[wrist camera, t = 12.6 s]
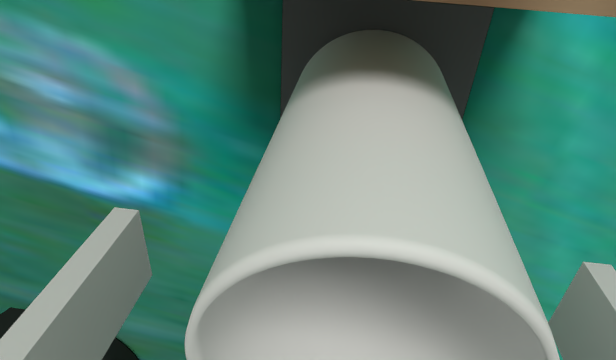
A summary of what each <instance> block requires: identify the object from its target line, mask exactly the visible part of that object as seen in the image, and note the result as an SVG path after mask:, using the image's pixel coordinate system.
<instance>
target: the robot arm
mask: <svg viewBox="0 0 616 360" xmlns="http://www.w3.org/2000/svg"><path fill="white" fill-rule="evenodd" d="M151 276H152V272H151V267H150V262H149V257H148V252H147V247H146V243H145V238H144V233H143V228H142V223H141V219H140V214H139V210H132V209H123V208H114V209H113V210H112V211H111V212H110V213H109V215H108V216H107V217H106V218H105V219H104V220H103V221H102V223H101V224H100V225H99V226H98V227H97V228H96V230H95V231H94V232H93V233H92V234H91V235H90V236H89V238H88V239H87V240H86V241H85V242H84V243H83V245H82V246H81V247H80V248H79V249H78V250H77V251H76V253H75V254H74V255H73V256H72V257H71V258H70V259H69V261H68V262H67V263H66V264H65V265H64V266H63V268H62V269H61V270H60V271H59V272H58V273H57V274H56V276H55V277H54V278H53V279H52V280H51V281H50V283H49V284H48V285H47V286H46V287H45V288H44V289H43V291H42V292H41V293H40V294H39V295H38V296H37V297H36V299H35V300H34V301H33V302H32V303H31V304H30V306H29V307H28V308H27V309H26V310H25V309H17V308H9V309H8V310H6V311H5V312H3V313H2V314H0V360H138V359H137V358H136V356H135V355H134V354H133V353H132V352H131V351H130V350H129V349H128V348H127V347H126V346H125V345H124V344H123V343H121V342H120V341H119V340H117V339H116V338H115V337H116V335H117V333H118V332H119V330H120V328H121V327H122V325H123V323H124V321H125V320H126V318H127V316H128V315H129V313H130V311H131V310H132V308H133V306H134V305H135V303H136V301H137V300H138V298H139V296H140V295H141V293H142V291H143V290H144V288H145V286H146V284H147V283H148V281H149V279H150V278H151ZM548 324H549V327H550V329H551V331H552V335H553V338H554V340H555V342H556V345H557V347H558V349H559V351H560V353H561V355H562V357H563V360H616V271H615V270H614V268H613V267H612V265H607V264H599V263H590V262H583V263H582V265H581V267H580V268H579V270H578V272H577V274H576V275H575V277H574V279H573V281H572V282H571V284H570V286H569V288H568V289H567V291H566V293H565V295H564V296H563V298H562V300H561V302H560V303H559V305H558V307H557V308H556V310H555V312H554V314H553V315H552V317H551V319H550V321H549V322H548Z"/></svg>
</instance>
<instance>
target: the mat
mask: <svg viewBox="0 0 616 360" xmlns="http://www.w3.org/2000/svg"><path fill="white" fill-rule="evenodd" d="M493 11H494V7H488V6H476V5H464V4H452V3H440V2H428V1H416V0H283V14H282V65H281V116H280V119H281V117H282V114H283V112H284V110H285V108H286V106H287V104H288V102H289V99H290V97H291V95H292V93H293V91H294V89H295V86H296V84H297V82H298V80H299V78H300V76H301V74H302V71H303V70H304V68H305V66H306V65H307V63H308V62H309V60H310V59H311V58H312V57H313V56H314V55H315V53H317V52H318V51H319V50H320V49H321V48H322V47H324V46H325V45H326V44H328V43H329V42H331V41H332V40H334V39H336V38H338V37H340V36H343V35H345V34H348V33H352V32H356V31H362V30H384V31H390V32H394V33H398V34H400V35H403V36H405V37H407V38H409V39H411V40H413V41H415V42H416V43H418V44H419V45H420V46H422V47H423V48H424V49H425V50H426V51H427V52H428V53H429V54H430V55H431V56H432V57H433V59H434V60H435V61H436V63H437V65H438V66H439V68H440V70H441V72H442V74H443V77H444V79H445V82H446V84H447V86H448V89H449V91H450V93H451V96H452V98H453V100H454V103H455V105H456V107H457V110H458V112H459V114H460V117H461V119H462V118H463V115H464V111H465V108H466V104H467V101H468V98H469V94H470V91H471V87H472V84H473V80H474V77H475V73H476V70H477V66H478V63H479V59H480V56H481V52H482V49H483V45H484V42H485V39H486V35H487V32H488V28H489V25H490V21H491V18H492V14H493Z"/></svg>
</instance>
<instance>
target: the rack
mask: <svg viewBox="0 0 616 360" xmlns="http://www.w3.org/2000/svg"><path fill="white" fill-rule="evenodd" d="M416 1H428V2H440V3H452V4H464V5H476V6H488V7H500V8H512V9H524V10H536V11H548V12H561V13H573V14H585V15H597V16H609V17H616V0H416Z"/></svg>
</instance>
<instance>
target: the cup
mask: <svg viewBox="0 0 616 360" xmlns="http://www.w3.org/2000/svg"><path fill="white" fill-rule="evenodd" d="M185 355H186V359H187V360H560V359H559V356H558V352H557V348H556V345H555V341H554V338H553V335H552V331H551V329H550V327H549V324H548V322H547V320H546V317H545V315H544V312H543V310H542V308H541V305H540V303H539V301H538V298H537V296H536V293H535V291H534V289H533V286H532V284H531V282H530V279H529V277H528V274H527V272H526V270H525V267H524V265H523V263H522V260H521V258H520V255H519V253H518V251H517V248H516V246H515V244H514V241H513V239H512V237H511V234H510V232H509V230H508V227H507V225H506V223H505V220H504V218H503V215H502V213H501V211H500V208H499V206H498V204H497V201H496V199H495V197H494V194H493V192H492V190H491V187H490V185H489V183H488V180H487V178H486V176H485V173H484V171H483V168H482V166H481V164H480V161H479V159H478V157H477V154H476V152H475V150H474V147H473V145H472V143H471V140H470V138H469V136H468V133H467V131H466V129H465V126H464V124H463V121H462V119H461V117H460V114H459V112H458V110H457V107H456V105H455V103H454V100H453V98H452V96H451V93H450V91H449V89H448V86H447V84H446V82H445V79H444V77H443V74H442V72H441V70H440V68H439V66H438V65H437V63H436V61H435V60H434V59H433V57H432V56H431V55H430V54H429V53H428V52H427V51H426V50H425V49H424V48H423V47H422V46H420V45H419V44H418V43H416V42H415V41H413V40H411V39H409V38H407V37H405V36H403V35H400V34H398V33H394V32H390V31H384V30H362V31H356V32H352V33H348V34H345V35H343V36H340V37H338V38H336V39H334V40H332V41H331V42H329V43H328V44H326V45H325V46H324V47H322V48H321V49H320V50H319V51H318V52H317V53H315V55H314V56H313V57H312V58H311V59H310V60H309V62H308V63H307V65H306V66H305V68H304V70H303V71H302V74H301V76H300V78H299V80H298V82H297V84H296V86H295V89H294V91H293V93H292V95H291V97H290V99H289V102H288V104H287V106H286V108H285V110H284V112H283V114H282V117H281V119H280V121H279V123H278V125H277V127H276V130H275V132H274V134H273V136H272V138H271V140H270V142H269V145H268V147H267V149H266V151H265V153H264V155H263V158H262V160H261V162H260V164H259V166H258V168H257V170H256V173H255V175H254V177H253V179H252V181H251V183H250V186H249V188H248V190H247V192H246V194H245V196H244V198H243V201H242V203H241V205H240V207H239V209H238V211H237V214H236V216H235V218H234V220H233V222H232V224H231V226H230V229H229V231H228V233H227V235H226V237H225V240H224V242H223V244H222V246H221V248H220V250H219V253H218V255H217V257H216V259H215V261H214V263H213V266H212V268H211V270H210V272H209V274H208V276H207V279H206V281H205V283H204V285H203V287H202V290H201V292H200V294H199V296H198V298H197V301H196V303H195V305H194V307H193V310H192V313H191V316H190V319H189V323H188V326H187V330H186V335H185Z"/></svg>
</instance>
